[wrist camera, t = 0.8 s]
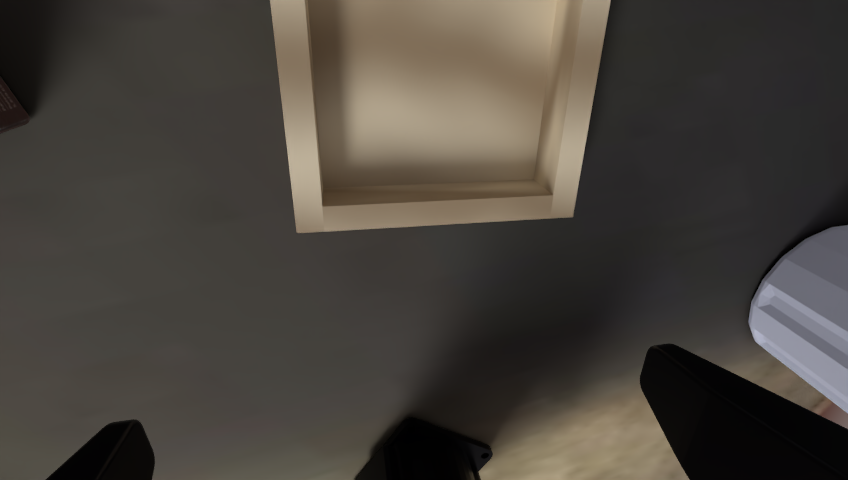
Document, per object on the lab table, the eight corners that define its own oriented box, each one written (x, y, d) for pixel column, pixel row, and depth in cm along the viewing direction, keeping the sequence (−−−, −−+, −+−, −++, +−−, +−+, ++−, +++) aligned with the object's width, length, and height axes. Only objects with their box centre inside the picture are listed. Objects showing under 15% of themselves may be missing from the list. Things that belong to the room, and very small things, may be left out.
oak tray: (542, 191, 21) (572, 217, 19) (301, 203, 20) (296, 233, 17) (583, -95, 17) (631, -115, 14) (267, -115, 15) (254, -143, 12)
